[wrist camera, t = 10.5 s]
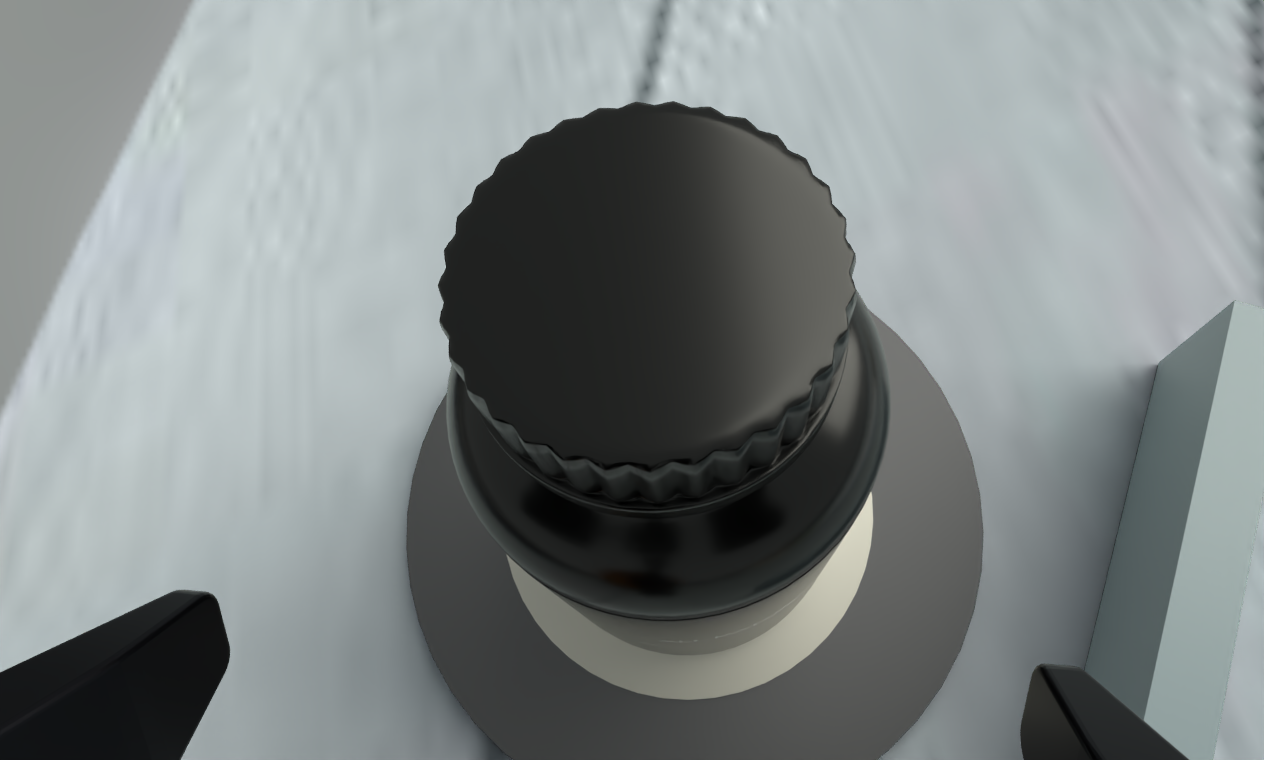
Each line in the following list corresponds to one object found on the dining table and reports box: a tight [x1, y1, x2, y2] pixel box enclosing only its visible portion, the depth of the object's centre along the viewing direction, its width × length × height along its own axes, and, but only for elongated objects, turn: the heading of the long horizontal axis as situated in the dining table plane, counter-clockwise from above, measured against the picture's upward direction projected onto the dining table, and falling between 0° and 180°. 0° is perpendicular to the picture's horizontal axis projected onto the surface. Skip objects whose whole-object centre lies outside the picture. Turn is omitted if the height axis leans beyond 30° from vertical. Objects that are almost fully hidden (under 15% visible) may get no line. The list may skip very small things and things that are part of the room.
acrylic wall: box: [1085, 300, 1264, 760], centre depth 17 cm, size 16×1×4 cm, turn 157°
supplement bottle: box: [438, 101, 891, 655], centre depth 15 cm, size 7×7×12 cm
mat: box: [407, 310, 983, 760], centre depth 21 cm, size 14×14×1 cm
